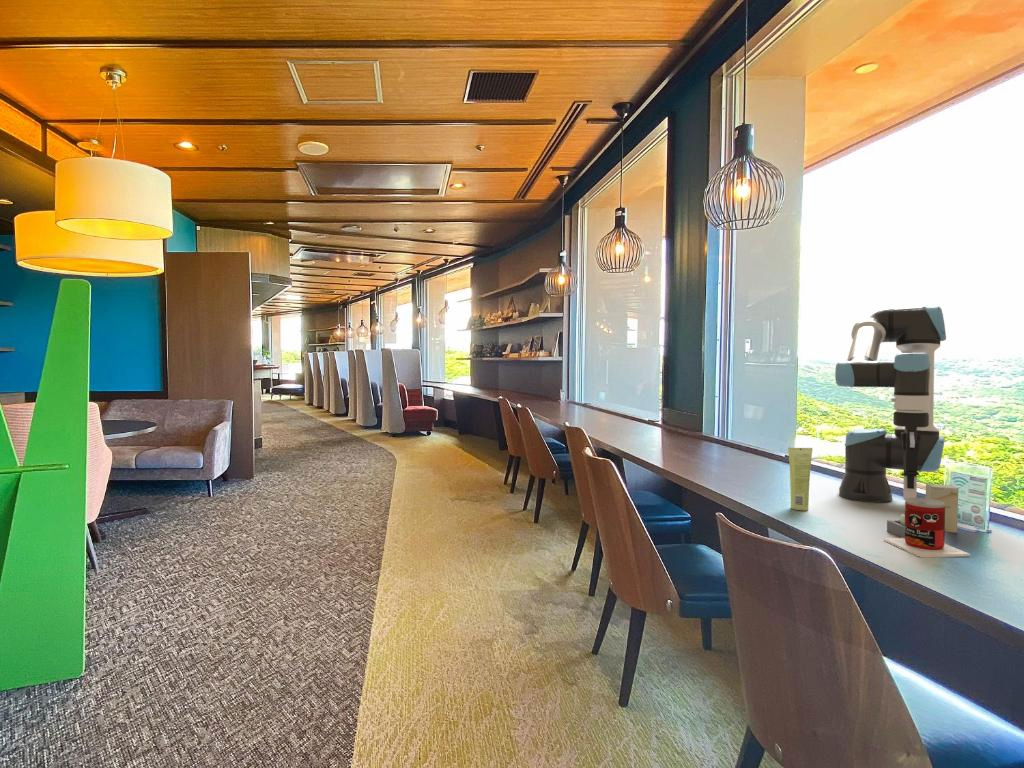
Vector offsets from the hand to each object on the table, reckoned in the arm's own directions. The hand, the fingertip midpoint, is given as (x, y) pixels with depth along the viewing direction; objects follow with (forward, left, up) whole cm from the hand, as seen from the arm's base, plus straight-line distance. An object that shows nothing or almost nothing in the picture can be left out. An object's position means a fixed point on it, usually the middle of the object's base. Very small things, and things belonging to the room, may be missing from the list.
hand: (909, 499), depth 142 cm
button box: (0, 0, -10) cm, 10 cm away
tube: (+14, -27, -10) cm, 32 cm away
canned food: (+4, +10, -9) cm, 14 cm away
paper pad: (+4, +10, -10) cm, 14 cm away
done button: (0, 0, -8) cm, 8 cm away
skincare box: (-12, -4, -10) cm, 16 cm away
